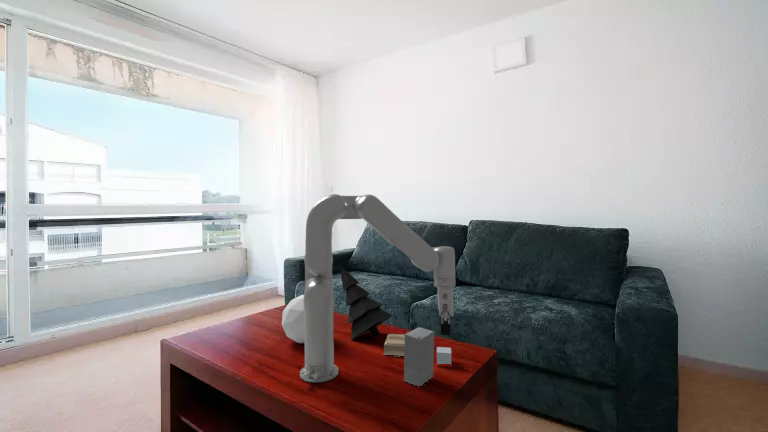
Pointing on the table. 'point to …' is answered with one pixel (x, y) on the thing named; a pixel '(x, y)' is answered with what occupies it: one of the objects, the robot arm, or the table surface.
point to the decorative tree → (362, 308)
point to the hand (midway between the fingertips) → (445, 329)
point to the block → (443, 355)
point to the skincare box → (418, 356)
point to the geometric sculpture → (294, 320)
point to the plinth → (394, 345)
